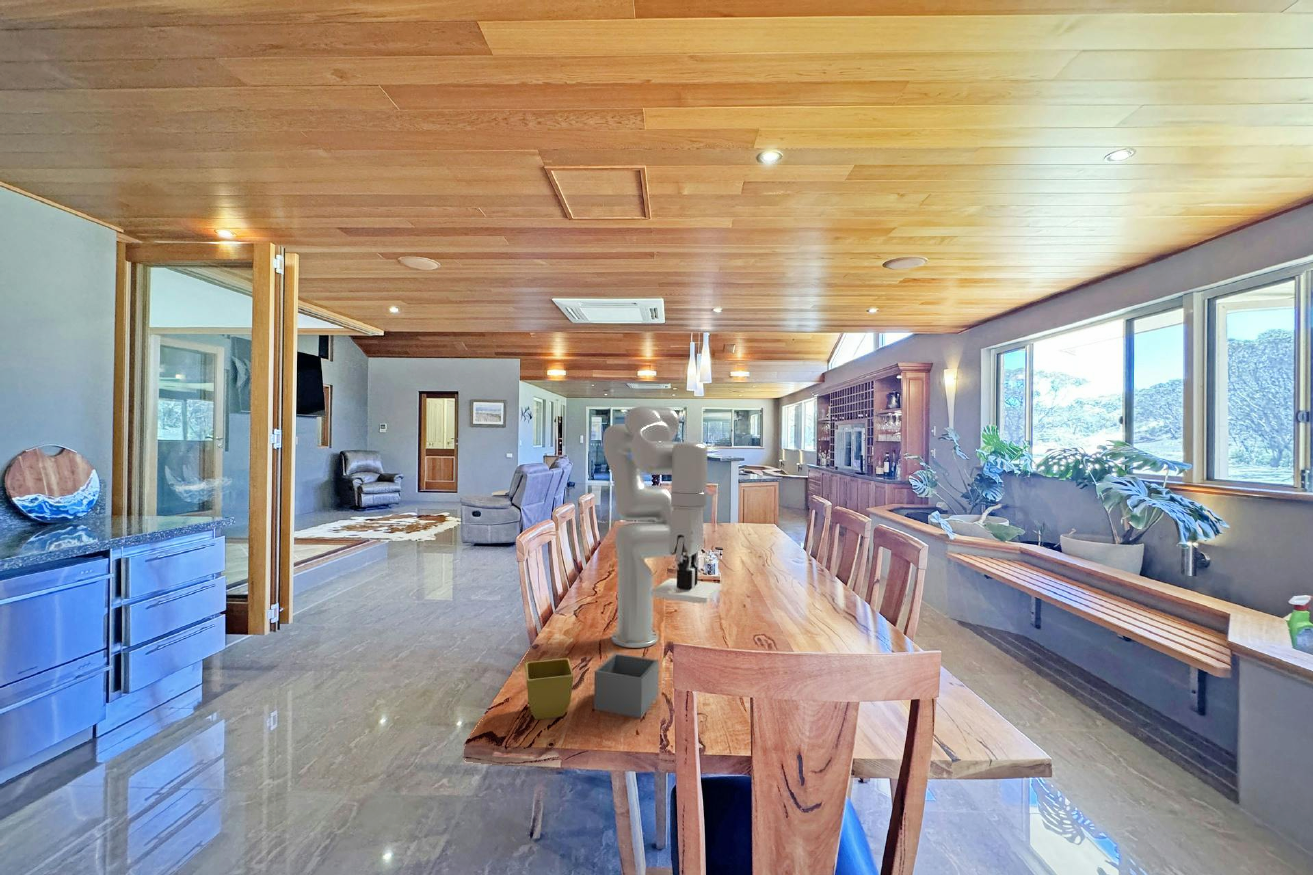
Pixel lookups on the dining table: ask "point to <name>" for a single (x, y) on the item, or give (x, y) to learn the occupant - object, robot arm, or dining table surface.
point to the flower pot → (549, 687)
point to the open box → (626, 685)
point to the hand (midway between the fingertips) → (687, 585)
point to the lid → (695, 595)
